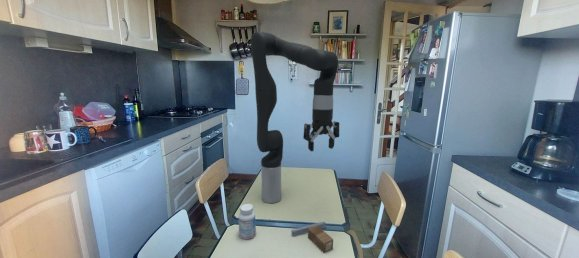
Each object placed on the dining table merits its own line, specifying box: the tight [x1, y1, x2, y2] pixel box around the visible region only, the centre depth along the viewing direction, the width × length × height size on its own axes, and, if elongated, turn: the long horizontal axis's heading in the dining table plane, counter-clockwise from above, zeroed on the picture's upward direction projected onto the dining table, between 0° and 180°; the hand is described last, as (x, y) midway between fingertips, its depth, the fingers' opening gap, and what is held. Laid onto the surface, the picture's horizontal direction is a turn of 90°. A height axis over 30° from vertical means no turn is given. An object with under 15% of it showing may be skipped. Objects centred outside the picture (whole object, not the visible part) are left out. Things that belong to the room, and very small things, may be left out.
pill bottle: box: [238, 203, 257, 240], centre depth 89 cm, size 6×6×11 cm
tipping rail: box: [291, 221, 327, 237], centre depth 92 cm, size 1×14×2 cm, turn 113°
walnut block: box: [307, 226, 334, 254], centre depth 86 cm, size 4×4×9 cm
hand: (321, 149), depth 93 cm, fingers open, 8 cm apart
